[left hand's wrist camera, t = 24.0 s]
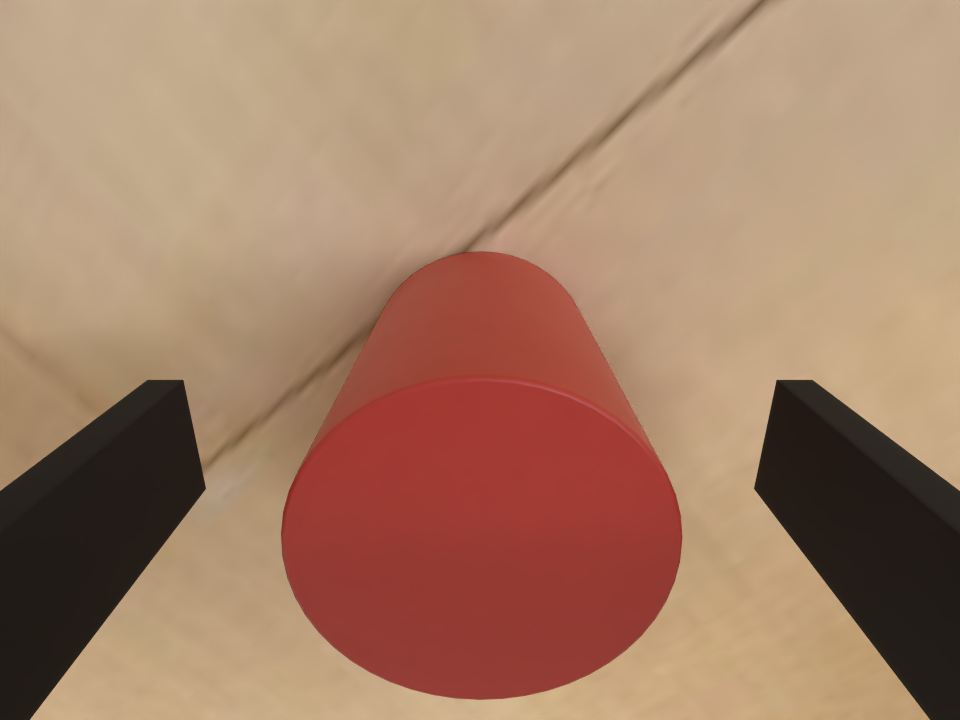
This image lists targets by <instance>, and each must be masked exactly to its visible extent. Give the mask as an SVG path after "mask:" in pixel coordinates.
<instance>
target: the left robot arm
mask: <svg viewBox="0 0 960 720" xmlns="http://www.w3.org/2000/svg"><path fill="white" fill-rule="evenodd" d="M205 489H206V487H205V482H204V477H203V472H202V468H201V463H200V458H199V453H198V448H197V444H196V439H195V434H194V429H193V424H192V420H191V415H190V410H189V405H188V400H187V396H186V391H185V386H184V381H183V380H147V381H146V382H144V383H143V384H142V385H140V386H139V387H138V388H136V389H135V390H134V391H132V392H131V393H130V394H128V395H127V396H126V397H124V398H123V399H122V400H120V401H119V402H118V403H116V404H115V405H114V406H112V407H111V408H110V409H109V410H107V411H106V412H105V413H103V414H102V415H101V416H99V417H98V418H97V419H95V420H94V421H93V422H91V423H90V424H89V425H87V426H86V427H85V428H83V429H82V430H81V431H79V432H78V433H77V434H75V435H74V436H73V437H71V438H70V439H69V440H67V441H66V442H65V443H63V444H62V445H61V446H59V447H58V448H57V449H55V450H54V451H53V452H51V453H50V454H49V455H48V456H46V457H45V458H44V459H42V460H41V461H40V462H38V463H37V464H36V465H34V466H33V467H32V468H30V469H29V470H28V471H26V472H25V473H24V474H22V475H21V476H20V477H18V478H17V479H16V480H14V481H13V482H12V483H10V484H9V485H8V486H6V487H5V488H4V489H2V490H1V491H0V720H30V719H31V717H32V716H33V715H34V713H35V712H36V711H37V710H38V708H39V707H40V706H41V704H42V703H43V702H44V700H45V699H46V698H47V696H48V695H49V694H50V693H51V691H52V690H53V689H54V687H55V686H56V685H57V683H58V682H59V681H60V679H61V678H62V677H63V675H64V674H65V673H66V672H67V670H68V669H69V668H70V666H71V665H72V664H73V662H74V661H75V660H76V658H77V657H78V656H79V654H80V653H81V652H82V651H83V649H84V648H85V647H86V645H87V644H88V643H89V641H90V640H91V639H92V637H93V636H94V635H95V634H96V632H97V631H98V630H99V628H100V627H101V626H102V624H103V623H104V622H105V620H106V619H107V618H108V616H109V615H110V614H111V613H112V611H113V610H114V609H115V607H116V606H117V605H118V603H119V602H120V601H121V599H122V598H123V597H124V595H125V594H126V593H127V592H128V590H129V589H130V588H131V586H132V585H133V584H134V582H135V581H136V580H137V578H138V577H139V576H140V575H141V573H142V572H143V571H144V569H145V568H146V567H147V565H148V564H149V563H150V561H151V560H152V559H153V557H154V556H155V555H156V554H157V552H158V551H159V550H160V548H161V547H162V546H163V544H164V543H165V542H166V540H167V539H168V538H169V537H170V535H171V534H172V533H173V531H174V530H175V529H176V527H177V526H178V525H179V523H180V522H181V521H182V519H183V518H184V517H185V516H186V514H187V513H188V512H189V510H190V509H191V508H192V506H193V505H194V504H195V502H196V501H197V500H198V498H199V497H200V496H201V495H202V493H203V492H204V491H205ZM754 489H755V491H756V492H757V493H758V495H759V496H760V497H761V498H762V500H763V501H764V502H765V504H766V505H767V506H768V508H769V509H770V510H771V512H772V513H773V514H774V515H775V517H776V518H777V519H778V521H779V522H780V523H781V525H782V526H783V527H784V529H785V530H786V531H787V533H788V534H789V535H790V536H791V538H792V539H793V540H794V542H795V543H796V544H797V546H798V547H799V548H800V550H801V551H802V552H803V554H804V555H805V556H806V557H807V559H808V560H809V561H810V563H811V564H812V565H813V567H814V568H815V569H816V571H817V572H818V573H819V574H820V576H821V577H822V578H823V580H824V581H825V582H826V584H827V585H828V586H829V588H830V589H831V590H832V592H833V593H834V594H835V595H836V597H837V598H838V599H839V601H840V602H841V603H842V605H843V606H844V607H845V609H846V610H847V611H848V613H849V614H850V615H851V616H852V618H853V619H854V620H855V622H856V623H857V624H858V626H859V627H860V628H861V630H862V631H863V632H864V633H865V635H866V636H867V637H868V639H869V640H870V641H871V643H872V644H873V645H874V647H875V648H876V649H877V651H878V652H879V653H880V654H881V656H882V657H883V658H884V660H885V661H886V662H887V664H888V665H889V666H890V668H891V669H892V670H893V672H894V673H895V674H896V675H897V677H898V678H899V679H900V681H901V682H902V683H903V685H904V686H905V687H906V689H907V690H908V691H909V692H910V694H911V695H912V696H913V698H914V699H915V700H916V702H917V703H918V704H919V706H920V707H921V708H922V710H923V711H924V712H925V713H926V715H927V716H928V717H929V719H930V720H960V491H959V490H958V489H956V488H955V487H954V486H952V485H951V484H950V483H948V482H947V481H946V480H944V479H943V478H942V477H940V476H939V475H938V474H936V473H935V472H934V471H932V470H931V469H930V468H928V467H927V466H926V465H924V464H923V463H922V462H920V461H919V460H918V459H917V458H915V457H914V456H913V455H911V454H910V453H909V452H907V451H906V450H905V449H903V448H902V447H901V446H899V445H898V444H897V443H895V442H894V441H893V440H891V439H890V438H889V437H887V436H886V435H885V434H883V433H882V432H881V431H879V430H878V429H877V428H875V427H874V426H873V425H871V424H870V423H869V422H867V421H866V420H865V419H863V418H862V417H861V416H859V415H858V414H857V413H855V412H854V411H853V410H852V409H850V408H849V407H848V406H846V405H845V404H844V403H842V402H841V401H840V400H838V399H837V398H836V397H834V396H833V395H832V394H830V393H829V392H828V391H826V390H825V389H824V388H822V387H821V386H820V385H818V384H817V383H816V382H814V381H813V380H777V381H776V386H775V391H774V396H773V400H772V405H771V410H770V415H769V420H768V424H767V429H766V434H765V439H764V444H763V448H762V453H761V458H760V463H759V468H758V472H757V477H756V482H755V487H754Z"/></svg>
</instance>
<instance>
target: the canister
mask: <svg viewBox="0 0 960 720" xmlns="http://www.w3.org/2000/svg"><path fill="white" fill-rule="evenodd" d="M281 540H282V555H283V560H284V565H285V569H286V574H287V578H288V580H289V583H290V585H291V588H292V591H293V593H294V596H295V598H296V600H297V601H298V603H299V605H300V606H301V608H302V610H303V612H304V613H305V615H306V617H307V618H308V619H309V620H310V622H311V623H312V624H313V626H314V627H315V628H316V629H317V631H318V632H319V633H320V634H321V635H322V636H323V637H324V638H325V639H326V640H327V641H328V642H329V643H330V644H331V645H332V646H333V647H334V648H335V649H337V650H338V651H339V652H341V653H342V654H343V655H344V656H346V657H347V658H348V659H349V660H351V661H352V662H354V663H356V664H357V665H359V666H360V667H362V668H364V669H365V670H367V671H369V672H370V673H372V674H375V675H377V676H379V677H381V678H383V679H385V680H387V681H389V682H392V683H395V684H397V685H400V686H403V687H406V688H409V689H412V690H416V691H420V692H424V693H428V694H432V695H437V696H444V697H450V698H458V699H476V700H484V699H505V698H512V697H520V696H527V695H531V694H535V693H540V692H544V691H548V690H551V689H554V688H557V687H560V686H563V685H566V684H569V683H571V682H574V681H576V680H578V679H580V678H582V677H585V676H587V675H589V674H591V673H593V672H594V671H596V670H598V669H599V668H601V667H603V666H605V665H606V664H608V663H609V662H611V661H612V660H614V659H615V658H616V657H618V656H619V655H620V654H622V653H623V652H624V651H626V650H627V649H628V648H629V647H630V646H631V645H632V644H633V643H634V642H635V641H636V640H637V639H638V638H639V637H641V636H642V634H643V633H644V632H645V631H646V630H647V628H648V627H649V626H650V625H651V623H652V622H653V621H654V620H655V618H656V617H657V615H658V614H659V612H660V610H661V609H662V607H663V605H664V604H665V602H666V600H667V598H668V596H669V593H670V591H671V589H672V587H673V584H674V582H675V578H676V574H677V571H678V567H679V563H680V556H681V546H682V526H681V515H680V511H679V506H678V502H677V498H676V494H675V492H674V489H673V487H672V485H671V482H670V480H669V478H668V475H667V473H666V471H665V469H664V467H663V465H662V464H661V462H660V460H659V458H658V456H657V454H656V452H655V451H654V449H653V447H652V445H651V443H650V441H649V439H648V438H647V436H646V434H645V432H644V430H643V428H642V426H641V425H640V423H639V421H638V419H637V417H636V415H635V413H634V411H633V410H632V408H631V406H630V404H629V402H628V400H627V398H626V397H625V395H624V393H623V391H622V389H621V387H620V385H619V384H618V382H617V380H616V378H615V376H614V374H613V372H612V370H611V369H610V367H609V365H608V363H607V361H606V359H605V357H604V356H603V354H602V352H601V350H600V348H599V346H598V344H597V343H596V341H595V339H594V337H593V335H592V333H591V331H590V330H589V328H588V326H587V324H586V322H585V320H584V318H583V316H582V315H581V313H580V311H579V309H578V307H577V306H576V304H575V302H574V301H573V299H572V297H571V296H570V295H569V294H568V292H567V291H566V290H565V289H564V288H563V286H562V285H561V284H560V283H559V282H557V281H556V280H555V279H554V278H553V277H552V276H551V275H549V274H548V273H546V272H545V271H544V270H542V269H541V268H539V267H537V266H535V265H533V264H531V263H529V262H527V261H525V260H522V259H520V258H517V257H514V256H510V255H505V254H501V253H493V252H467V253H462V254H457V255H452V256H449V257H446V258H443V259H440V260H437V261H435V262H433V263H431V264H429V265H427V266H425V267H423V268H422V269H420V270H419V271H417V272H416V273H414V274H413V275H412V276H411V277H409V278H408V279H407V280H406V281H405V282H404V283H403V284H402V285H401V286H400V287H399V288H398V289H397V290H396V291H395V293H394V294H393V295H392V297H391V298H390V300H389V301H388V303H387V304H386V306H385V308H384V310H383V312H382V313H381V315H380V317H379V319H378V321H377V323H376V325H375V327H374V329H373V330H372V332H371V334H370V336H369V338H368V340H367V342H366V344H365V346H364V347H363V349H362V351H361V353H360V355H359V357H358V359H357V361H356V362H355V364H354V366H353V368H352V370H351V372H350V374H349V376H348V378H347V379H346V381H345V383H344V385H343V387H342V389H341V391H340V393H339V395H338V396H337V398H336V400H335V402H334V404H333V406H332V408H331V410H330V411H329V413H328V415H327V417H326V419H325V421H324V423H323V425H322V427H321V428H320V430H319V432H318V434H317V436H316V438H315V440H314V442H313V444H312V445H311V447H310V449H309V451H308V453H307V455H306V457H305V459H304V460H303V462H302V464H301V466H300V468H299V470H298V472H297V474H296V477H295V479H294V481H293V483H292V485H291V487H290V490H289V493H288V496H287V500H286V504H285V507H284V511H283V519H282V529H281Z"/></svg>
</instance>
